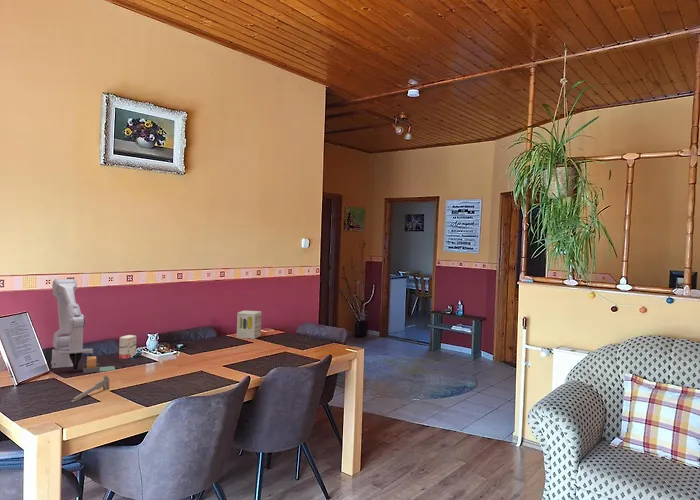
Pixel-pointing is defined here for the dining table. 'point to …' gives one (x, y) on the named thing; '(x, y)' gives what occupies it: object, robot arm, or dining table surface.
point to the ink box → (127, 346)
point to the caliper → (94, 388)
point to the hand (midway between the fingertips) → (75, 368)
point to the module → (91, 362)
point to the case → (87, 370)
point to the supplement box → (249, 324)
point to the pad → (107, 368)
